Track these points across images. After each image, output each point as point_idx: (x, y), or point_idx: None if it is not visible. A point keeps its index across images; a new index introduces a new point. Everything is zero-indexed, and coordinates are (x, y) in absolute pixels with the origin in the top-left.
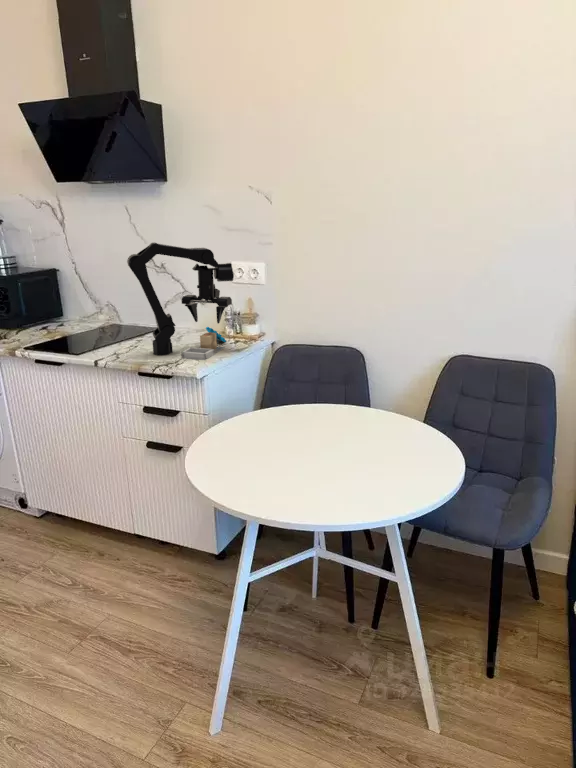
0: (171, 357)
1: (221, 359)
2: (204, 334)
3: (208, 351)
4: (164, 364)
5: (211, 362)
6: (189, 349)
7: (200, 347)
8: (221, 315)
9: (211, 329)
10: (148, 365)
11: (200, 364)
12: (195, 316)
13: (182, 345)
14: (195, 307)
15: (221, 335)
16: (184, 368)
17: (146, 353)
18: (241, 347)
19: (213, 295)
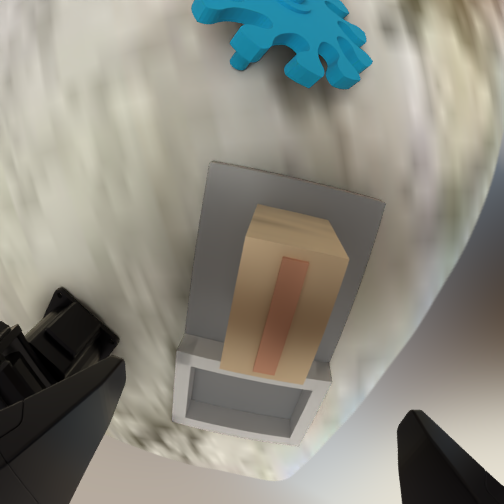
0: None
1: (363, 386)
2: (242, 319)
3: (304, 417)
4: (146, 432)
5: (320, 422)
6: (189, 383)
7: (210, 216)
8: (471, 473)
9: (259, 56)
10: (106, 431)
11: None
12: (96, 442)
13: (79, 116)
14: (11, 501)
15: (359, 80)
16: (232, 466)
17: (12, 293)
18: (465, 139)
19: None
